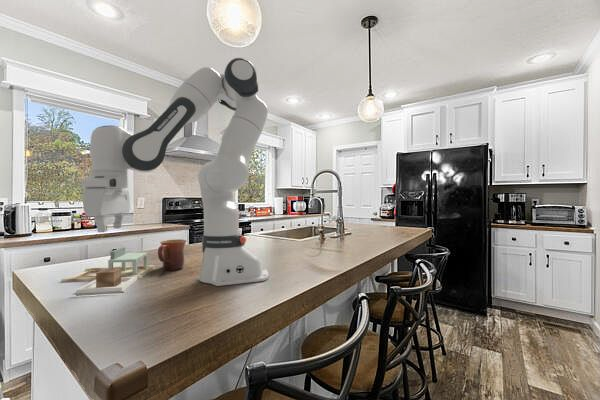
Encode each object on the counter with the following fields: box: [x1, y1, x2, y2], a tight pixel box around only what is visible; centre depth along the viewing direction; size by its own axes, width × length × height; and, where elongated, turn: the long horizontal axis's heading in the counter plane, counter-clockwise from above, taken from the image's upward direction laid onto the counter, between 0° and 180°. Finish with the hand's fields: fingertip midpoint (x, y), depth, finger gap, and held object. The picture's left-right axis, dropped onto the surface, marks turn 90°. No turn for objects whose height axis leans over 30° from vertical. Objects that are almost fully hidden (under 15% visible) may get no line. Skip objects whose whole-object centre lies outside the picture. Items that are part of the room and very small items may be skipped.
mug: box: [157, 238, 187, 272], centre depth 101 cm, size 12×9×10 cm
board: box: [60, 264, 156, 283], centre depth 93 cm, size 22×14×1 cm, turn 101°
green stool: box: [107, 246, 149, 275], centre depth 94 cm, size 8×11×8 cm
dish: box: [75, 276, 138, 297], centre depth 80 cm, size 11×11×2 cm
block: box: [96, 268, 121, 288], centre depth 80 cm, size 4×4×4 cm
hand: (110, 230), depth 81 cm, fingers open, 8 cm apart
